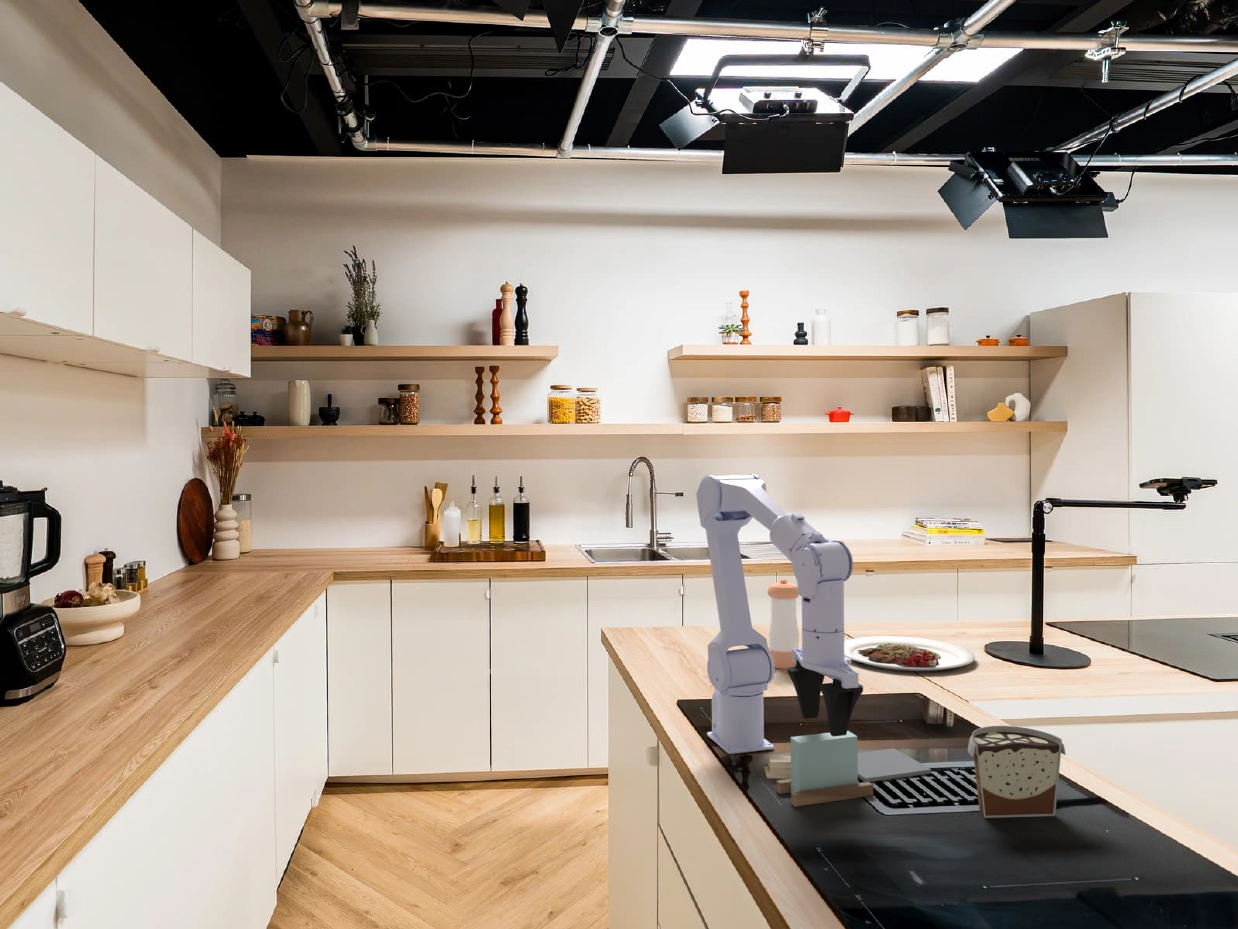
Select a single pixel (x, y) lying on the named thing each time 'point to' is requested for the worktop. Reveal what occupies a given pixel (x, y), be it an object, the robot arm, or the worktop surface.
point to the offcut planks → (778, 767)
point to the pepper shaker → (783, 623)
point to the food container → (1016, 771)
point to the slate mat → (888, 765)
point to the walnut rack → (825, 793)
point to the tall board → (823, 761)
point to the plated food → (907, 653)
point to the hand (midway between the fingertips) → (823, 726)
